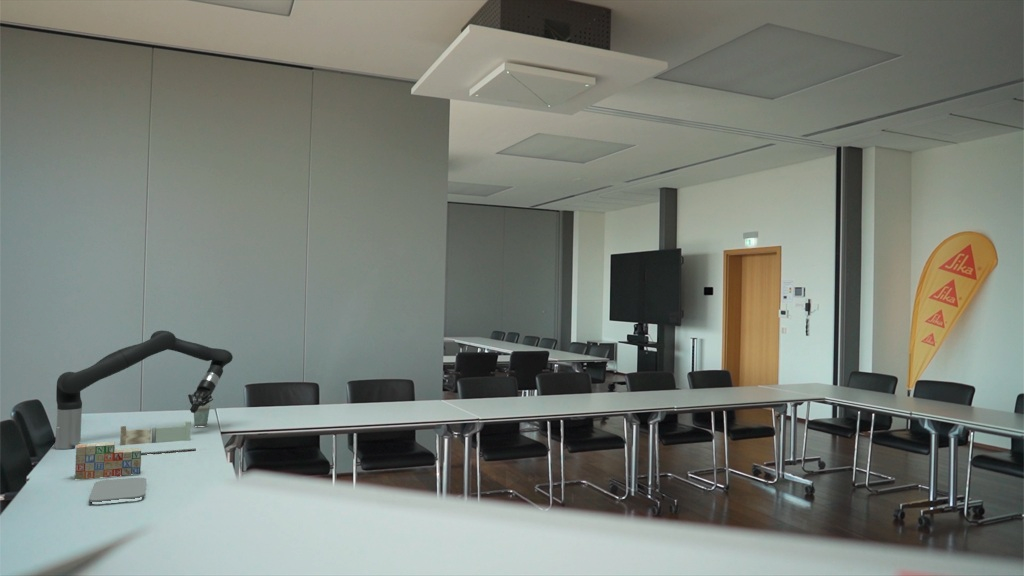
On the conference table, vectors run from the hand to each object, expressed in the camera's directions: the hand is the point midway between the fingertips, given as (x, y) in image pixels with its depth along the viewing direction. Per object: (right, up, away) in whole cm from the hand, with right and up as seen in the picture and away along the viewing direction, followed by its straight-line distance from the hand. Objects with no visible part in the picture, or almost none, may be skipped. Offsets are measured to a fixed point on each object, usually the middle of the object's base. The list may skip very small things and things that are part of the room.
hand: (192, 411), depth 327 cm
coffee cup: (-10, -14, +31) cm, 35 cm away
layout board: (-7, -12, -21) cm, 26 cm away
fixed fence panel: (-16, -11, -20) cm, 28 cm away
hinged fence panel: (-4, -11, -13) cm, 17 cm away
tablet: (+17, -12, -91) cm, 94 cm away
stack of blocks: (0, -12, -69) cm, 70 cm away
